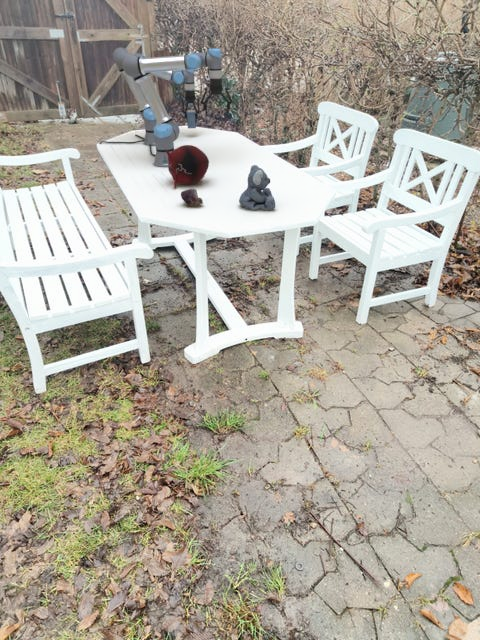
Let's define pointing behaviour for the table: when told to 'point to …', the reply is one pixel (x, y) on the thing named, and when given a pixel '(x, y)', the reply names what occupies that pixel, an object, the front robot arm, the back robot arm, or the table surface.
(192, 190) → the rock
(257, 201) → the koala plush
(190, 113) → the block
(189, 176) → the dark red rounded piece
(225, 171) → the table surface
